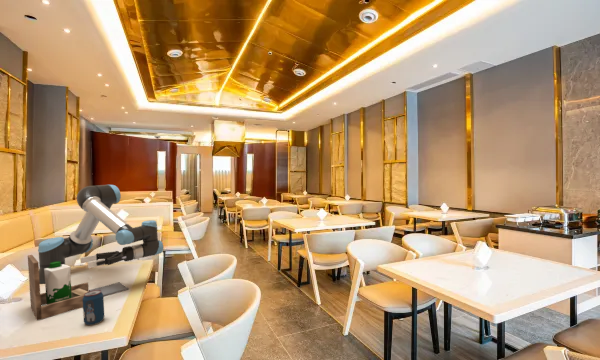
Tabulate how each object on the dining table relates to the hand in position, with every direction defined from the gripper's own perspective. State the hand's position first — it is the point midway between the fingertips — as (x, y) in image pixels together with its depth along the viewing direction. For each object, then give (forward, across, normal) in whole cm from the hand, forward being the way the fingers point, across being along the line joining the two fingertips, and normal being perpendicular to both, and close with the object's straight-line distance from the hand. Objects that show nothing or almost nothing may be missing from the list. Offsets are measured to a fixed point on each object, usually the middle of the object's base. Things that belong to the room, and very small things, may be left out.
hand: (84, 262), depth 145 cm
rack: (+8, +1, -18) cm, 19 cm away
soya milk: (+10, +1, -18) cm, 20 cm away
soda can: (+4, -30, -18) cm, 35 cm away
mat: (-10, +4, -18) cm, 21 cm away
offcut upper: (+2, 0, -16) cm, 16 cm away
